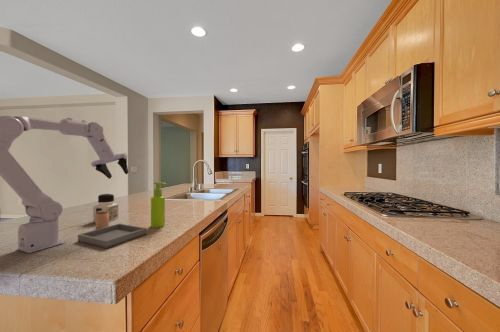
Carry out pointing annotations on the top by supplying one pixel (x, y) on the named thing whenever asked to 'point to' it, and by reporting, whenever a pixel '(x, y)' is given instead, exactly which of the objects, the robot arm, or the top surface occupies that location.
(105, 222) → the spice jar
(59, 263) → the top surface
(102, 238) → the tray
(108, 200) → the container
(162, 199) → the soap dispenser
